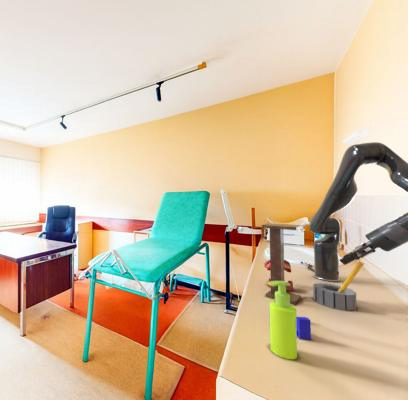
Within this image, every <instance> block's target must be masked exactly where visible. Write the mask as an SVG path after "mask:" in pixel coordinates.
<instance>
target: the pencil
mask: <svg viewBox="0 0 408 400" xmlns="http://www.w3.org/2000/svg"><path fill="white" fill-rule="evenodd" d="M364 265H365V262H363V261H361V260H360V261H359V260H358V262H357V263H356V265H355V266H354V268H353V269H352V271H351V272H350V273H349V274H348V276H347V278H346V279H345V280H344V282H343V283H342V285H340V286H341V287H340V289H339V290H338V292H344V291H345V289H346V288H348V287H349V286H350V284H351V283H352V282H353V280H354V278H355V277H357V274H358V273H359V272H360V271H361V269H363V266H364Z"/></svg>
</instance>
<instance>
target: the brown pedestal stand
mask: <svg viewBox="0 0 408 400" xmlns="http://www.w3.org/2000/svg"><path fill="white" fill-rule="evenodd" d="M262 228H263V229H269V260H270V271H269V272H270V279H271V281H285V270H284V260H285V243H284V242H285V241H284V236H285V235H284V230H286V231H287V230H288V231H298V230H302V229H304V225H302V224H289V223H288V224H287V223H273V222H272V223H271V222H269V223H265V224H261V229H262ZM276 291H278V286H274V287H273V286H271V288H270V290H269V291H267V292H266V293H265V297H266V298H270V299H273V300H275V292H276ZM286 293H288V294H289V295H290V305H292V306H295V305H297V303H298V302H299V301H300V300H302V295H301V294H297V293H293V292H286Z"/></svg>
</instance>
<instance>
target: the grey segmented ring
mask: <svg viewBox="0 0 408 400" xmlns="http://www.w3.org/2000/svg"><path fill="white" fill-rule="evenodd" d="M341 286H342V285H337V284H332V283H326V282H324V283H323V282H315V283H313V285H312V292H313V293H312V294H313V295H312V297H313V300H314V301H315V302H316V303H318V304H320V305H322V306H323V305H324V306H325V307H328V308H331V309H336V310H341V311H355V310H356V309H357V292H356V291H354V290H353V289H351V288H348V287H347V288H346V289H345V291H344V292H338V290H339V289H340V287H341Z"/></svg>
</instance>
